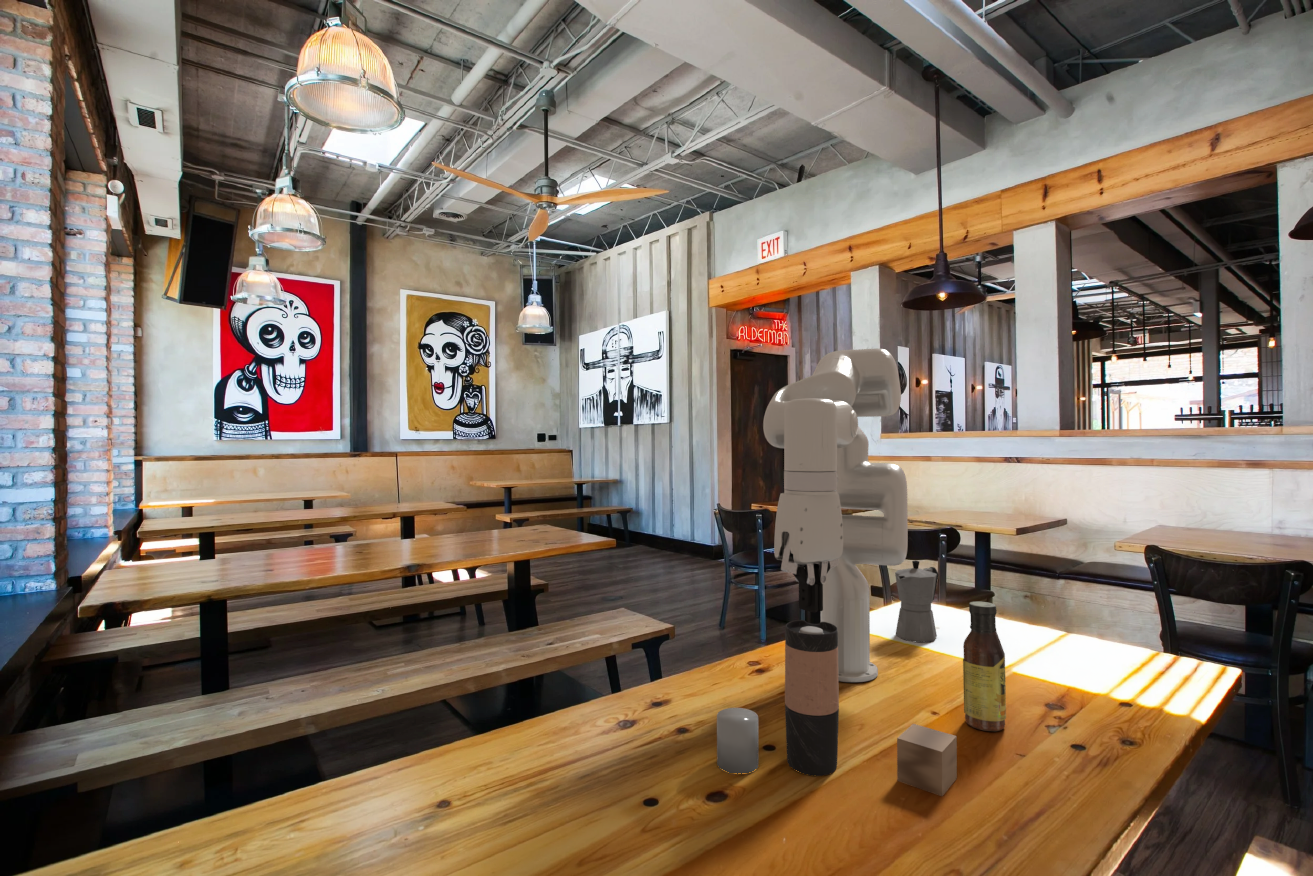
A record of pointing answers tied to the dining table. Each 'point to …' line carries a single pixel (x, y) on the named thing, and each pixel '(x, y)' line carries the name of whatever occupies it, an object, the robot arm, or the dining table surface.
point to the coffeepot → (916, 603)
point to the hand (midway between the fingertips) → (810, 609)
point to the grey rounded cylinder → (737, 740)
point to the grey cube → (927, 759)
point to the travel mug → (811, 697)
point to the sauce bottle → (984, 671)
